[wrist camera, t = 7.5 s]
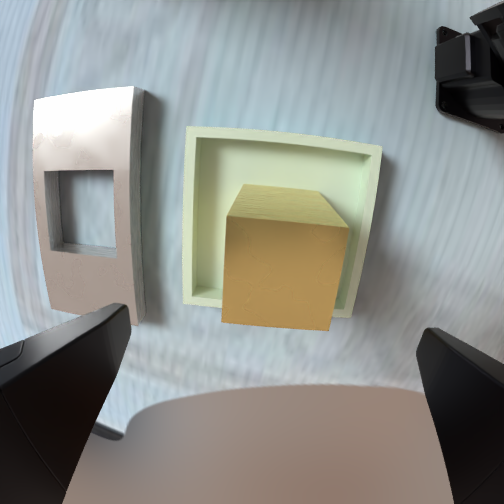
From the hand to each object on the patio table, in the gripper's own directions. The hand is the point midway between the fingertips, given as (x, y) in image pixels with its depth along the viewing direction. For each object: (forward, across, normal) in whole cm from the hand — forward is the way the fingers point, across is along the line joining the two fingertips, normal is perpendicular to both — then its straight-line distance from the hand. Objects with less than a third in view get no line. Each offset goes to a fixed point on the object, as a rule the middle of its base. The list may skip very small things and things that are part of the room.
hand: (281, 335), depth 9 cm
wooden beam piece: (+12, 0, 0) cm, 12 cm away
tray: (+12, 0, 0) cm, 12 cm away
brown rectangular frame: (+12, +13, 0) cm, 18 cm away
